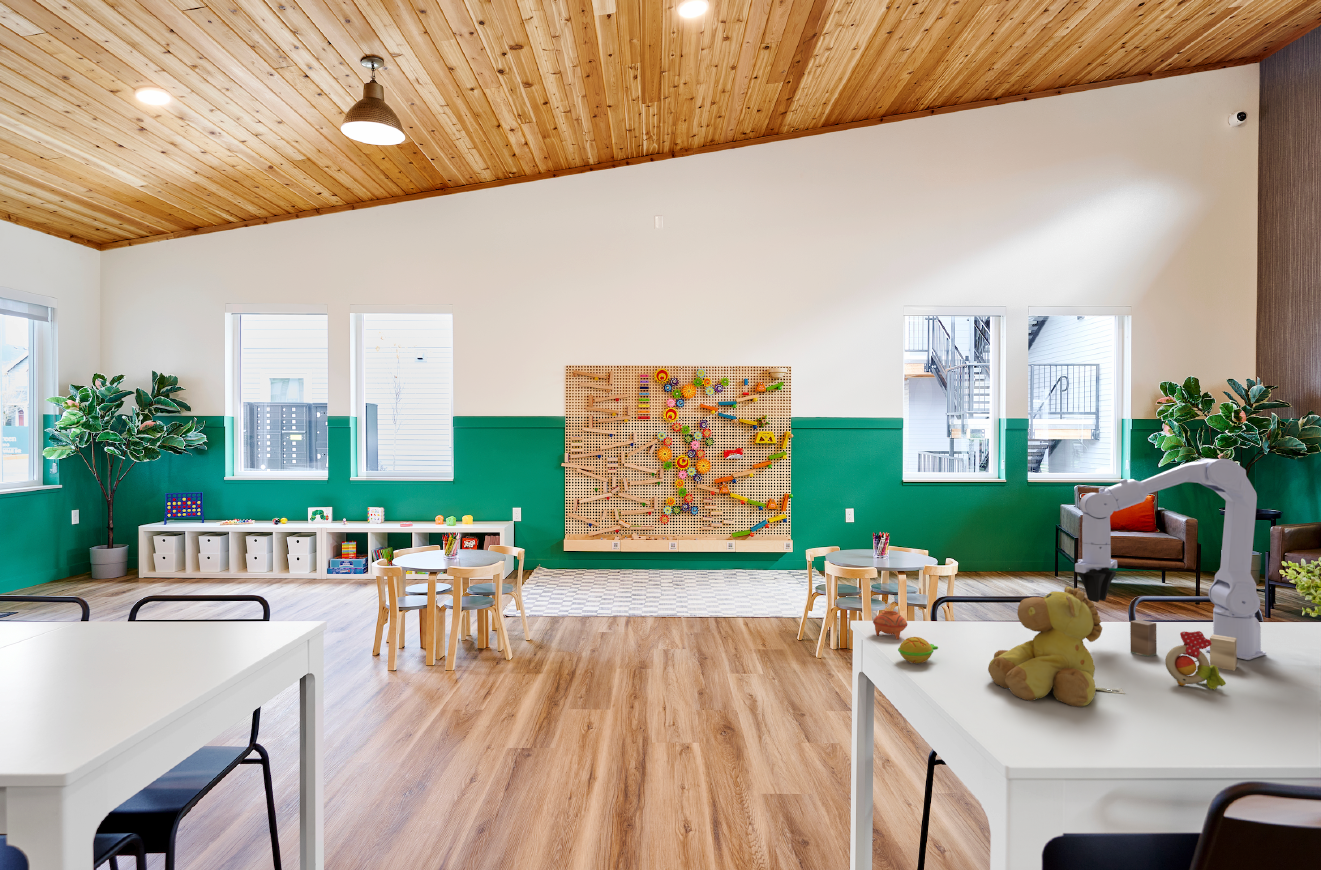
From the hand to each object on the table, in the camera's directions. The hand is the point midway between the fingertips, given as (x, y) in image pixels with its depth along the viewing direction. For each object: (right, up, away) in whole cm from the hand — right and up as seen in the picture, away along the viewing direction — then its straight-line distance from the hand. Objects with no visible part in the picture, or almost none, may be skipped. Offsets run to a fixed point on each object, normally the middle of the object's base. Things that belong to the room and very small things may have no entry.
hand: (1096, 600), depth 163 cm
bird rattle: (0, -10, -30) cm, 32 cm away
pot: (-48, -10, +4) cm, 49 cm away
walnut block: (+5, -10, -9) cm, 14 cm away
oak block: (+16, -10, -18) cm, 26 cm away
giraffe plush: (-29, -9, -32) cm, 44 cm away
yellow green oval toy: (-49, -10, -16) cm, 52 cm away
